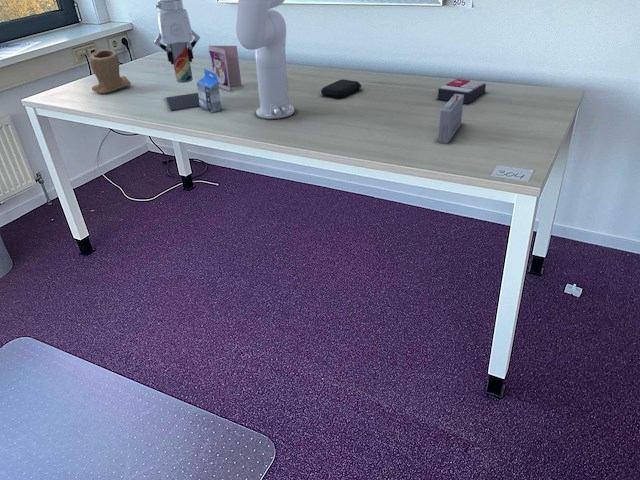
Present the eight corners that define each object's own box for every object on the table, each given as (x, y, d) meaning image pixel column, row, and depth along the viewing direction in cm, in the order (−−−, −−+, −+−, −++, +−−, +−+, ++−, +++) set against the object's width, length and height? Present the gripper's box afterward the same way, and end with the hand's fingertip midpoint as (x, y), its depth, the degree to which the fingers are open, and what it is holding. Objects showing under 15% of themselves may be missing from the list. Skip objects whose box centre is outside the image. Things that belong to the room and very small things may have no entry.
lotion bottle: (188, 83, 181) (178, 21, 171) (173, 83, 182) (162, 22, 172) (195, 78, 186) (185, 18, 175) (180, 78, 187) (169, 18, 176)
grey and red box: (486, 81, 180) (469, 90, 169) (485, 94, 182) (467, 104, 171) (456, 77, 185) (438, 86, 175) (455, 89, 187) (437, 99, 177)
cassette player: (451, 123, 157) (455, 90, 152) (460, 124, 156) (464, 91, 151) (438, 142, 146) (441, 106, 140) (447, 143, 145) (451, 107, 139)
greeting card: (212, 86, 204) (206, 46, 196) (228, 81, 208) (223, 42, 200) (228, 91, 197) (222, 50, 189) (244, 87, 201) (239, 46, 193)
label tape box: (199, 106, 182) (193, 70, 175) (209, 103, 184) (204, 68, 177) (212, 112, 176) (206, 76, 169) (222, 109, 178) (217, 73, 171)
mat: (211, 105, 184) (211, 103, 183) (171, 111, 180) (171, 109, 180) (204, 93, 196) (204, 91, 196) (166, 98, 193) (166, 97, 192)
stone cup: (105, 97, 197) (94, 56, 189) (88, 92, 204) (77, 52, 196) (139, 87, 207) (130, 48, 199) (122, 83, 214) (113, 44, 206)
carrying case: (343, 100, 181) (365, 89, 191) (343, 91, 179) (365, 81, 189) (318, 96, 186) (341, 85, 196) (318, 87, 185) (341, 77, 195)
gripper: (145, 10, 166) (157, 68, 175) (199, 5, 170) (208, 61, 180) (143, 7, 172) (155, 63, 182) (195, 2, 176) (204, 57, 186)
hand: (181, 61), depth 181 cm, fingers closed on lotion bottle, 5 cm apart
